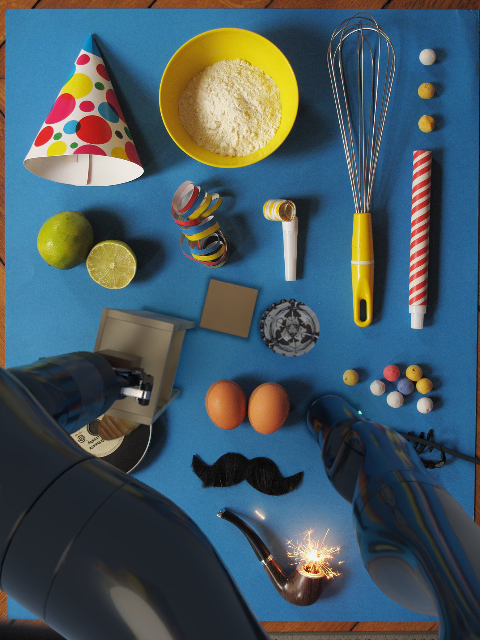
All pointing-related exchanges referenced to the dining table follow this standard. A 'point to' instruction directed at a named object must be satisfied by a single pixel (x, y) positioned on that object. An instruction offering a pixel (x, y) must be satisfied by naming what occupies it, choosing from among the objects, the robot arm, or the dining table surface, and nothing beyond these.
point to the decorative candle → (289, 328)
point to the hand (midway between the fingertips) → (120, 370)
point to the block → (120, 359)
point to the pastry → (115, 427)
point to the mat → (229, 308)
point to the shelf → (145, 356)
